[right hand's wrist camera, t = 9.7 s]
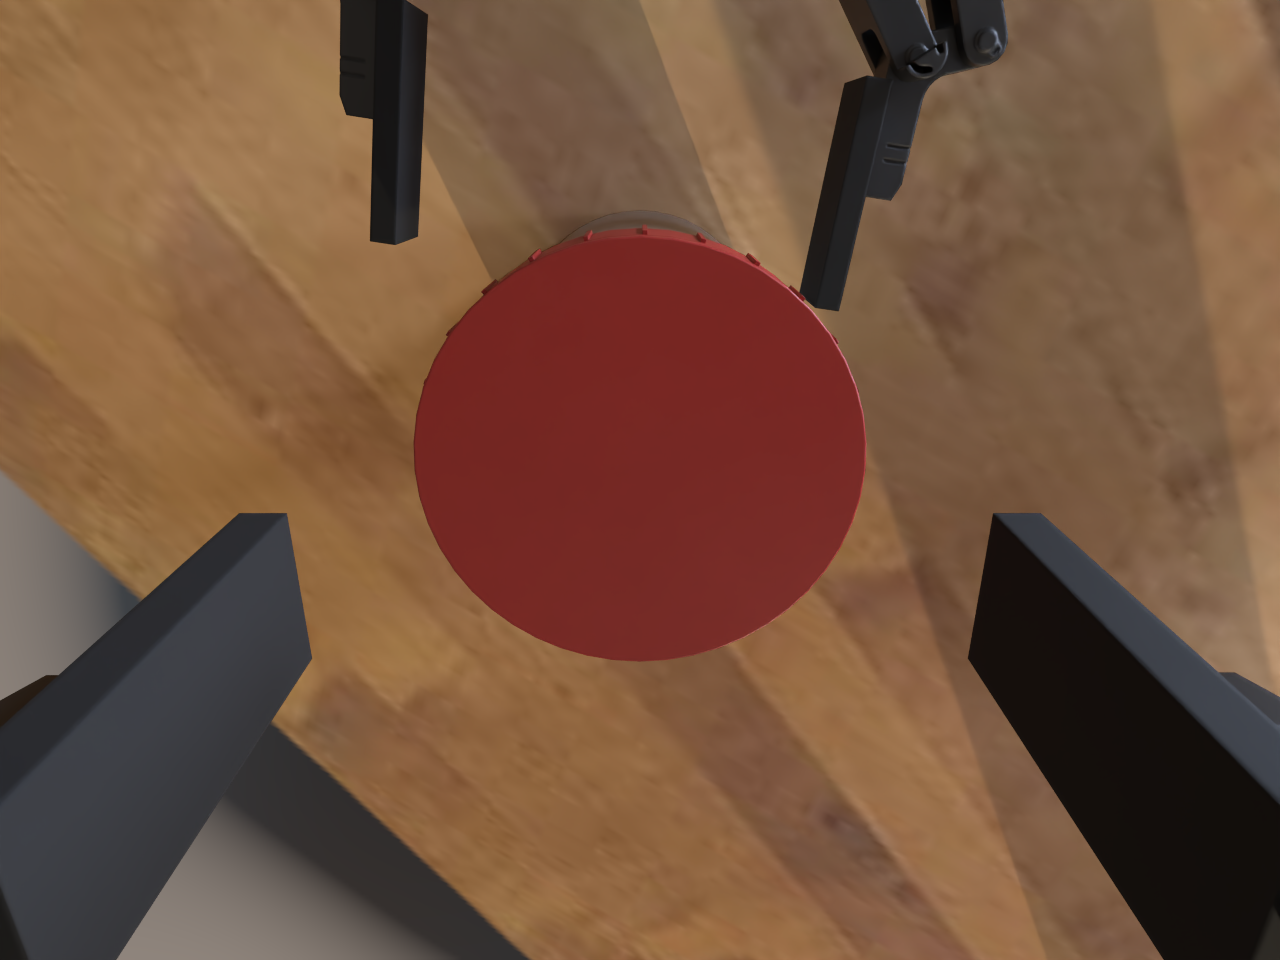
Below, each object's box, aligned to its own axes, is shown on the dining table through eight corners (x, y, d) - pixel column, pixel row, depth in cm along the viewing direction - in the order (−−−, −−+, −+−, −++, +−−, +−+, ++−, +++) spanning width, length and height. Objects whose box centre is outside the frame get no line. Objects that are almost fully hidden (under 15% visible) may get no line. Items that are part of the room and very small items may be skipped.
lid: (911, 291, 19) (941, 307, 17) (770, 657, 23) (782, 703, 21) (475, 169, 18) (456, 171, 16) (402, 572, 22) (379, 612, 20)
